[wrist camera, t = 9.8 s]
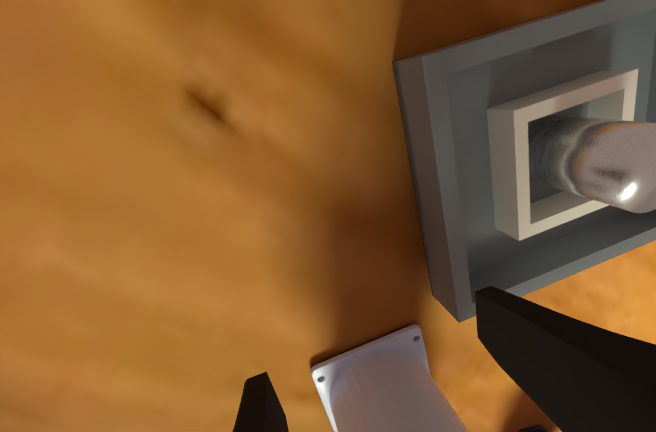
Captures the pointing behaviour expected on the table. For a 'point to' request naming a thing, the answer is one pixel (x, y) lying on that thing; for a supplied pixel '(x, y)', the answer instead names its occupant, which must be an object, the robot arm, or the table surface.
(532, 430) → the potion bottle
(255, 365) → the table surface
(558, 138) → the metal peg
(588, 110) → the walled tray
